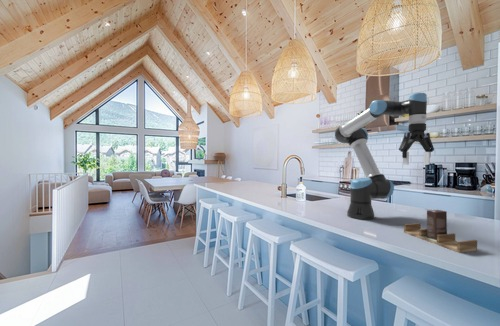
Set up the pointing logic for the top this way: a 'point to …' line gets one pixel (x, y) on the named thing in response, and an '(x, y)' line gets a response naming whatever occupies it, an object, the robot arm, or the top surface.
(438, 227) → the box
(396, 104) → the robot arm
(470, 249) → the wooden stepped piece
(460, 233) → the top surface
